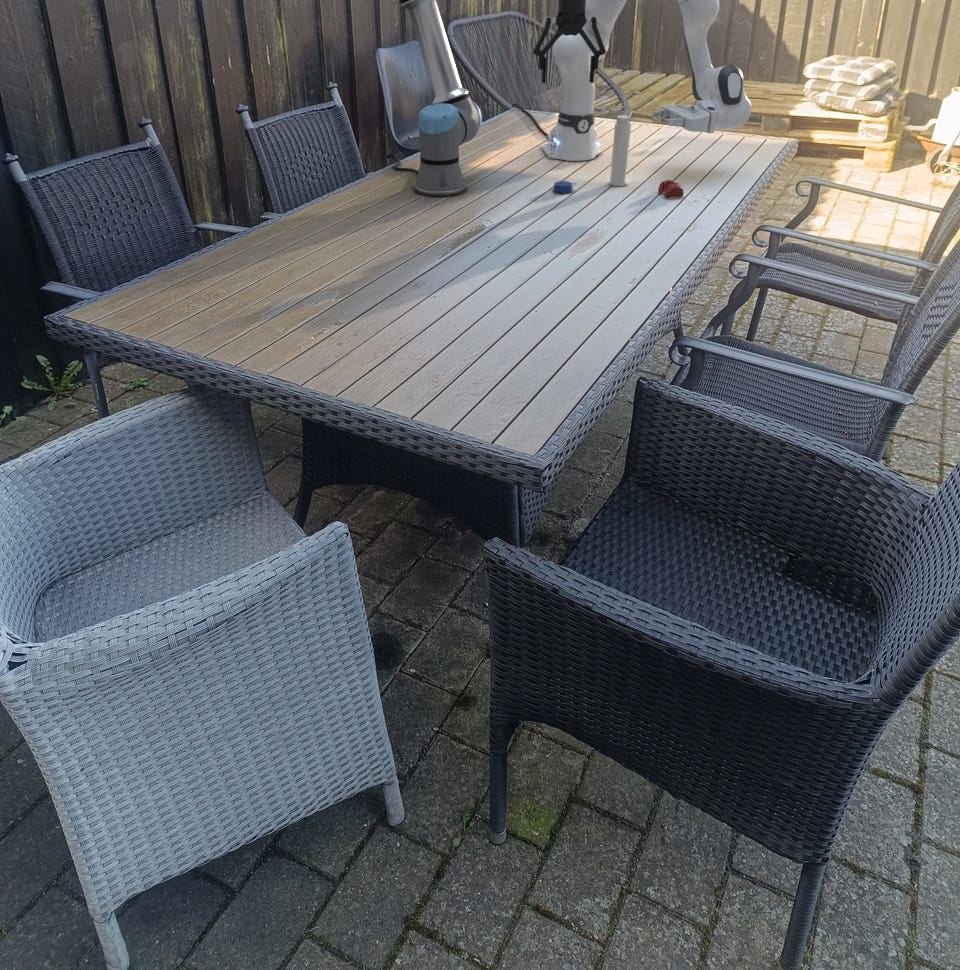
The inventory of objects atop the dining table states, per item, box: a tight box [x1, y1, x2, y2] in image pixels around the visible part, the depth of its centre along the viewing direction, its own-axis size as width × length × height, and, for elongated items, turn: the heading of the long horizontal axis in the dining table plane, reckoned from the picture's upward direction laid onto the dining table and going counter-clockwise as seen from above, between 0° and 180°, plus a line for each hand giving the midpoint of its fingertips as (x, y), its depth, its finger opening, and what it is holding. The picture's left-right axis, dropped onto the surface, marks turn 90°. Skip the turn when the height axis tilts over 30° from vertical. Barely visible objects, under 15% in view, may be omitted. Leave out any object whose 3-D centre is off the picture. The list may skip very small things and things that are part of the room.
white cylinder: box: [609, 114, 632, 187], centre depth 257 cm, size 5×5×20 cm
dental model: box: [657, 179, 684, 199], centre depth 253 cm, size 6×4×8 cm
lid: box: [553, 180, 573, 195], centre depth 257 cm, size 6×6×2 cm
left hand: (567, 82), depth 240 cm, fingers open, 13 cm apart
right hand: (660, 118), depth 256 cm, fingers open, 8 cm apart
